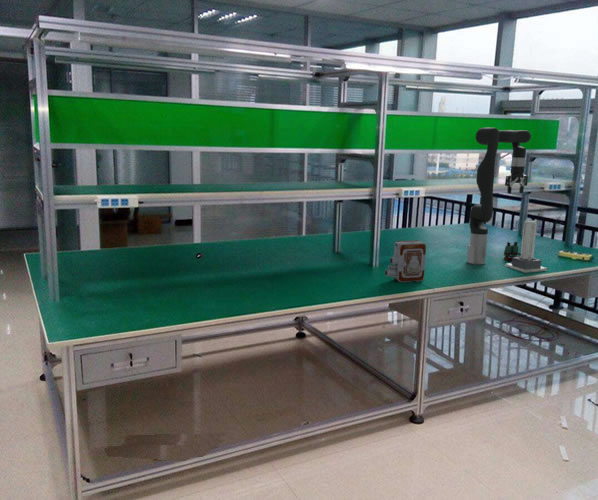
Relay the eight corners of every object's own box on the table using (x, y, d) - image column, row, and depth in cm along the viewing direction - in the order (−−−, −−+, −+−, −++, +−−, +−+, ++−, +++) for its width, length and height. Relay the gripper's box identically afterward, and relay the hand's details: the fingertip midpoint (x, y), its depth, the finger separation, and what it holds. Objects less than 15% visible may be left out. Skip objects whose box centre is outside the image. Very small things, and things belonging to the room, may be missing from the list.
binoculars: (513, 246, 316) (503, 241, 325) (510, 263, 319) (500, 258, 328) (527, 245, 317) (517, 240, 327) (524, 263, 321) (514, 257, 330)
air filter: (518, 266, 303) (523, 221, 298) (520, 263, 309) (524, 219, 303) (531, 267, 300) (536, 222, 295) (532, 265, 306) (537, 220, 301)
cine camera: (381, 279, 279) (383, 240, 275) (417, 277, 283) (419, 238, 279) (388, 283, 270) (390, 243, 266) (425, 282, 274) (428, 242, 270)
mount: (524, 272, 295) (525, 262, 294) (505, 266, 309) (506, 256, 308) (546, 270, 301) (547, 260, 300) (526, 264, 314) (527, 254, 313)
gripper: (512, 166, 316) (509, 194, 320) (532, 165, 321) (529, 193, 325) (503, 165, 323) (501, 192, 327) (523, 164, 328) (520, 192, 331)
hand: (515, 193), depth 326 cm, fingers open, 8 cm apart
